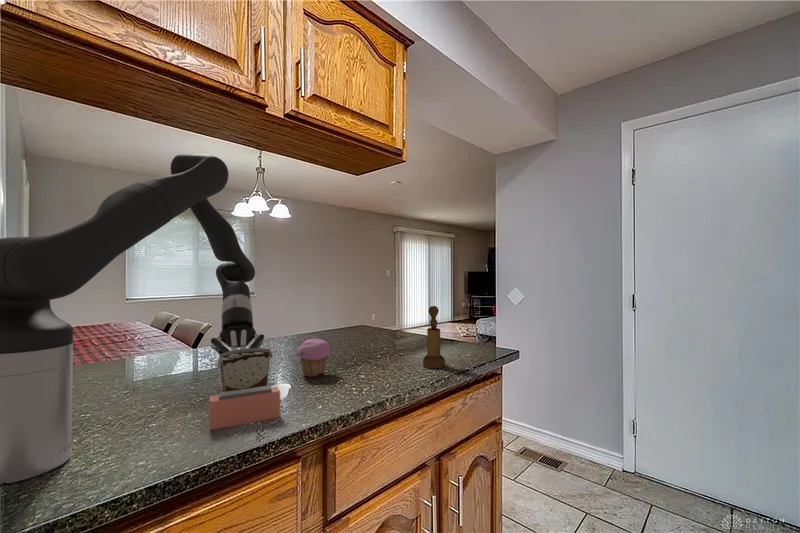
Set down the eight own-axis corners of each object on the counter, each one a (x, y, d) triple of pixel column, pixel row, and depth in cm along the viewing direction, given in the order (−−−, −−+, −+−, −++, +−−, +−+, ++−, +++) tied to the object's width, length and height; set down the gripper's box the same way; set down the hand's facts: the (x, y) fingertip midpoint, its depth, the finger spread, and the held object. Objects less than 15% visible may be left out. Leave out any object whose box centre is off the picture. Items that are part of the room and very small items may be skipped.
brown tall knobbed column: (438, 370, 100) (438, 307, 101) (419, 367, 104) (418, 306, 104) (448, 365, 106) (447, 305, 106) (429, 362, 109) (429, 304, 110)
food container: (259, 385, 87) (259, 345, 87) (272, 390, 83) (272, 348, 83) (206, 399, 78) (207, 354, 78) (218, 406, 74) (219, 358, 74)
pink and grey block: (209, 430, 62) (209, 398, 62) (209, 423, 65) (209, 392, 65) (279, 417, 67) (280, 388, 68) (277, 411, 70) (277, 383, 71)
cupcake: (313, 369, 102) (313, 335, 102) (337, 372, 98) (337, 337, 98) (291, 377, 94) (291, 340, 94) (315, 381, 90) (315, 342, 91)
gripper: (209, 306, 89) (207, 365, 78) (264, 304, 95) (270, 359, 84) (209, 325, 94) (207, 383, 82) (262, 322, 100) (267, 375, 89)
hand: (239, 370), depth 83 cm, fingers closed
